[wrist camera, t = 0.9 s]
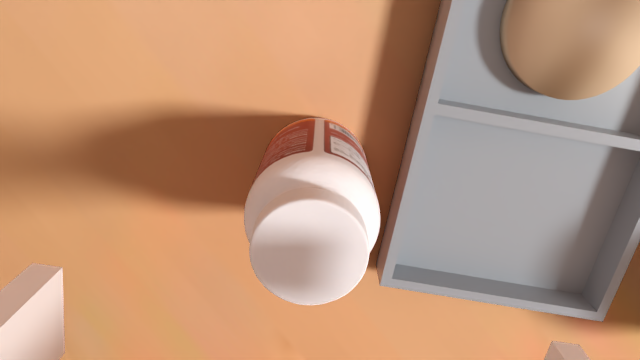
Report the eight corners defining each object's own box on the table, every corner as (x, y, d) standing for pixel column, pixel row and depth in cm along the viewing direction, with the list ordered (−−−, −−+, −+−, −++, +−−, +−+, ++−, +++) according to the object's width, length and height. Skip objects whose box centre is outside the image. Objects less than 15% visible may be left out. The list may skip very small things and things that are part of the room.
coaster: (482, 83, 26) (488, 86, 25) (526, -69, 23) (536, -73, 22) (613, 107, 26) (626, 111, 25) (671, -41, 24) (688, -43, 23)
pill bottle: (263, 208, 30) (227, 317, 19) (265, 112, 27) (226, 175, 17) (362, 215, 30) (380, 327, 19) (372, 118, 27) (398, 186, 17)
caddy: (375, 264, 31) (379, 285, 28) (470, -121, 23) (486, -135, 21) (582, 298, 31) (602, 321, 29) (739, -67, 24) (784, -75, 21)
